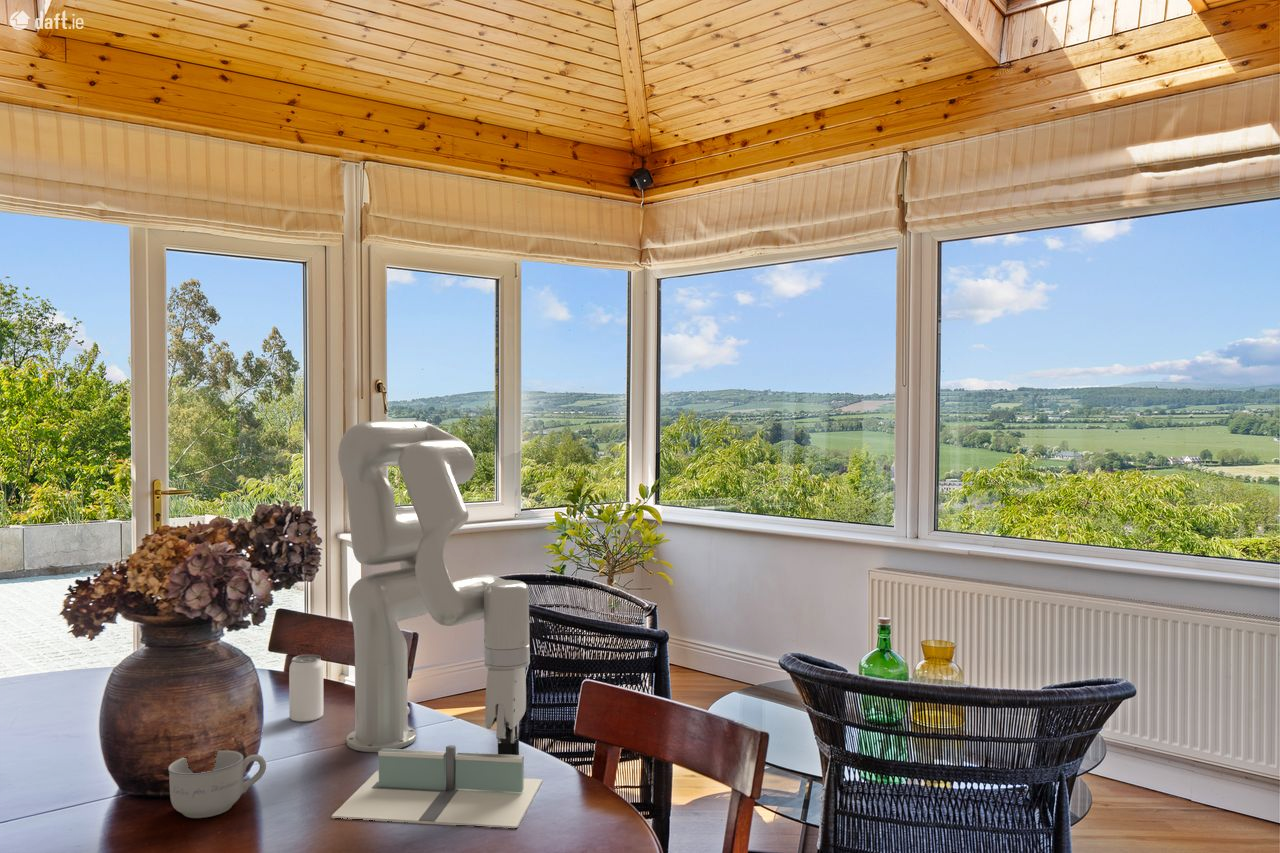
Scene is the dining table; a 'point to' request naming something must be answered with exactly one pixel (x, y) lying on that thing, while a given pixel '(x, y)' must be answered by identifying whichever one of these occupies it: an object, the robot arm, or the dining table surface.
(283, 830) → the dining table surface
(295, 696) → the can
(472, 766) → the pale open channel
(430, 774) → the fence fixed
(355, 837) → the dining table surface
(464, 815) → the card
